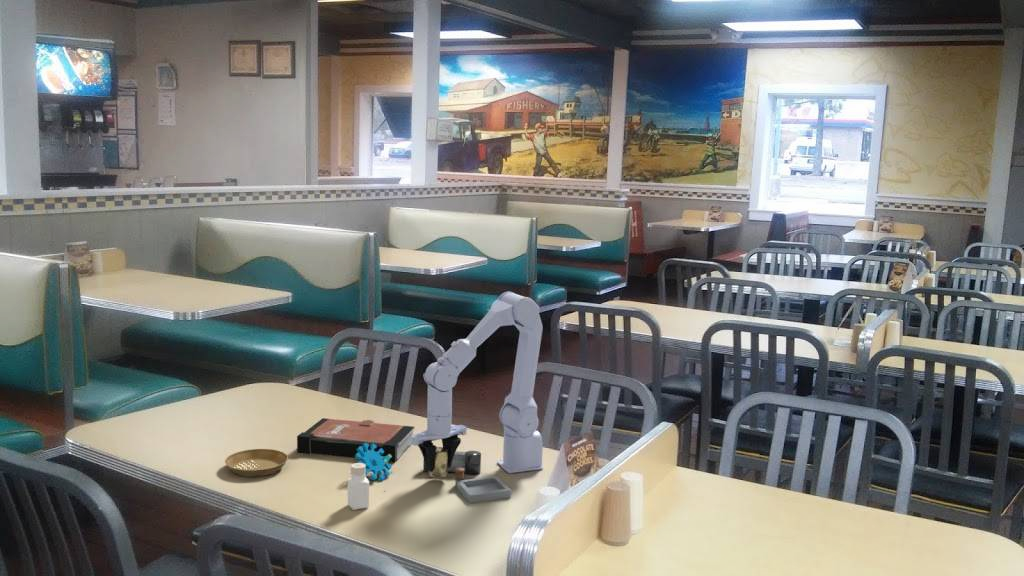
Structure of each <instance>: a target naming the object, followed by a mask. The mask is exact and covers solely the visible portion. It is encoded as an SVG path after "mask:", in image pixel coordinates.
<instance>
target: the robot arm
mask: <svg viewBox="0 0 1024 576" xmlns="http://www.w3.org/2000/svg"><path fill="white" fill-rule="evenodd" d="M540 308H541V307H540V306H539V305H538V304H537V302H536V301H534V300H533V298H531V297H528V296H523V295H520V294H517V293H515V292H513V291H505V292H503V293H502V294H500V295H499V296H498V298H497V299H496V300H494V301H493V302H492V304H491V307H490V308H489V311H488V312H487V313H486V314H485V315H484V317H483V318H482V319H481V320H480V321H479V322H478V324H477V325H476V326H475V327H474V328H473V330H472V331H470V333H469V335H467V337H466V338H459V339H457V340H456V341H455V340H454V341H453V342H452V343H451V344H450V346H451V347H450V348H449V349H448V350H446V352H445V353H444V354H443V355H442V356H439V357H438V358H437V361H435V362H432V363H431V364H429V365H428V366H427V368H426V369H425V372H424V373H423V374H422V375H423V379H424V382H425V383H426V384H427V403H426V404H427V407H426V408H427V410H426V412H427V413H426V414H427V415H426V420H427V421H426V422H427V423H426V425H427V426H426V429H425V430H423V431H421V432H419V433H416V434H413V435H412V436H411V444H412V445H413V446H414V447H417V446H418V448H419V450H420V452H421V455H422V458H423V461H425V465H426V470H428V471H427V472H429V471H430V472H433V470H434V456H435V452H436V448H437V447H438V446H436V445H435V444H434V443H433V442H434V441H438V440H441V443H442V447H444V448H447V449H448V468H449V467H451V464H452V460H453V457H454V454H455V452H456V451H457V449H458V448H459V446H460V444H461V443H462V440H461V438H460V437H459V436H466V435H467V430H468V429H467V428H468V427H467V426H465V425H463V424H460V425H452V418H453V417H452V413H453V412H452V410H453V407H452V405H453V388H454V387H455V386H456V385H457V381H458V377H459V375H460V373H462V371H463V370H464V369H465V368H466V367H467V366H468V365H469V364H470V363H471V362H472V361H473V360H474V358H476V356H477V348H478V347H479V346H481V345H482V344H483V343H484V342H485V341H486V340H487V339H488V338H489V337H490V336H492V334H494V333H495V332H496V331H497V330H498V329H499V328H500V327H506V326H514V327H516V329H517V330H518V331H519V335H518V341H517V342H518V343H517V349H516V356H515V364H514V369H513V378H512V384H511V390H510V393H509V394H507V396H506V397H504V403H503V405H502V407H501V409H500V410H499V415H498V416H499V417H498V418H499V421H500V423H501V424H502V425H503V445H502V446H503V448H502V449H503V450H502V452H503V453H502V454H503V455H502V459H499V460H497V461H496V463H497V464H498V465H499V466H500V467H501V468H502V469H504V471H505V472H507V473H508V474H512V473H513V474H515V473H523V472H529V471H537V470H543V469H544V466H543V450H544V449H543V446H544V445H543V437H542V435H541V433H540V432H539V430H538V427H539V417H538V405H537V403H536V401H535V398H534V390H535V384H536V383H535V382H536V376H537V369H538V362H539V356H540V349H541V342H542V337H543V328H544V327H543V323H542V319H541V315H540V310H541V309H540Z"/></svg>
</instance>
